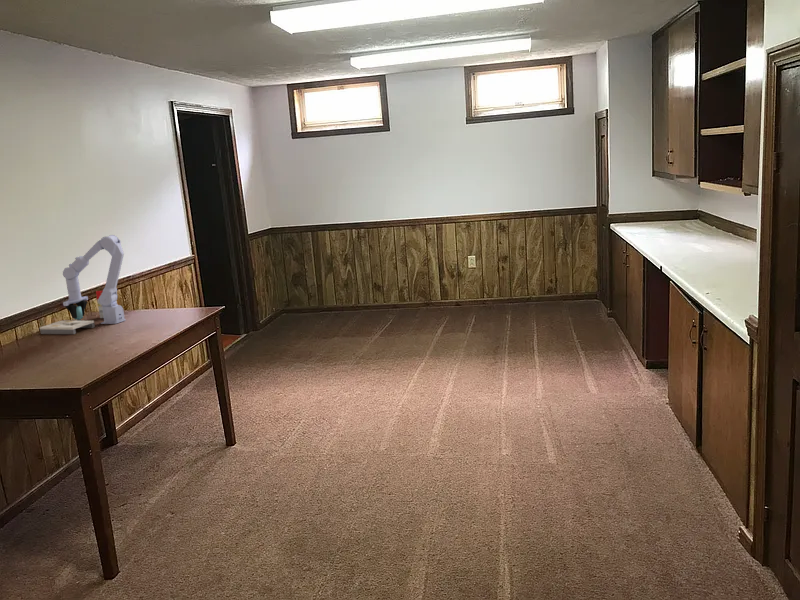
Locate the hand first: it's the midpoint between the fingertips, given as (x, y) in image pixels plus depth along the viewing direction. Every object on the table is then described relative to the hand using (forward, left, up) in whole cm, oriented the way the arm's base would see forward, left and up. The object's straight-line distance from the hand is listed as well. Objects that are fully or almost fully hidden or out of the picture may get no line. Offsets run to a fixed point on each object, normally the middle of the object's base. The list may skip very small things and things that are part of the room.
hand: (78, 316), depth 346 cm
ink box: (-3, -18, -4) cm, 19 cm away
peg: (0, 0, -4) cm, 4 cm away
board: (-3, +11, -4) cm, 12 cm away
